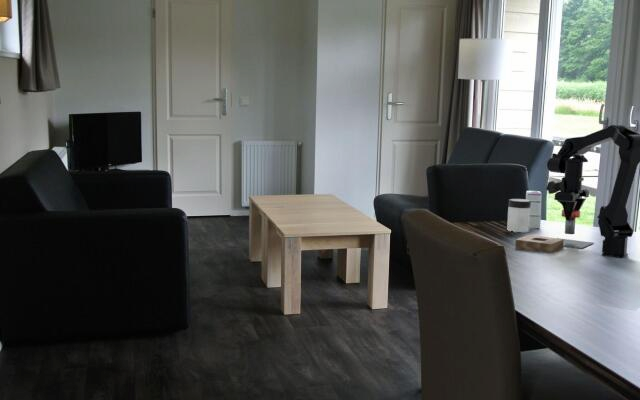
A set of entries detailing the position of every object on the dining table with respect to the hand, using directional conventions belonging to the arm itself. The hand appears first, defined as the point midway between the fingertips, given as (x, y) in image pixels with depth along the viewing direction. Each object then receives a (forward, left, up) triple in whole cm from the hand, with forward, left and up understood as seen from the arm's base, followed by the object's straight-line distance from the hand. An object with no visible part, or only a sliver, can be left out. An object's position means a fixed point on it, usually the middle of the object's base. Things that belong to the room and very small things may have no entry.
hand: (570, 219), depth 241 cm
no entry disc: (0, 0, -5) cm, 5 cm away
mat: (0, 0, -9) cm, 9 cm away
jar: (+24, -14, -9) cm, 29 cm away
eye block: (+5, +15, -9) cm, 18 cm away
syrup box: (+23, -26, -9) cm, 36 cm away
